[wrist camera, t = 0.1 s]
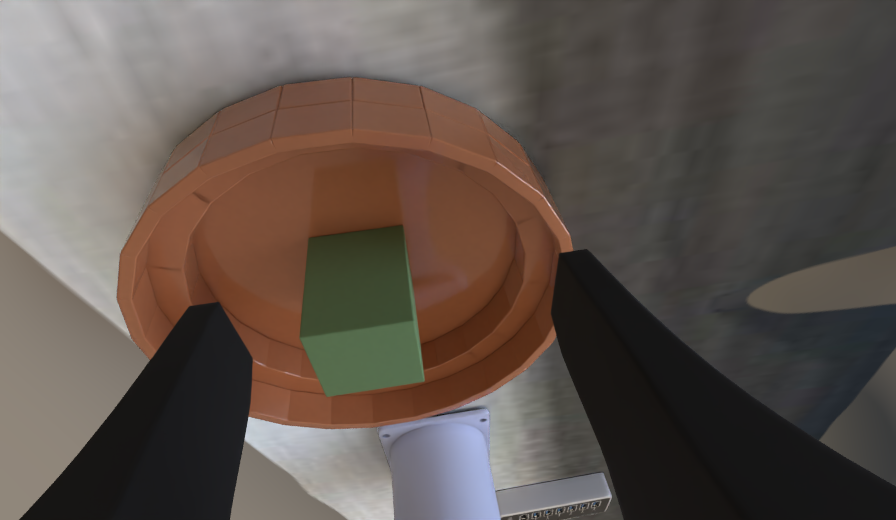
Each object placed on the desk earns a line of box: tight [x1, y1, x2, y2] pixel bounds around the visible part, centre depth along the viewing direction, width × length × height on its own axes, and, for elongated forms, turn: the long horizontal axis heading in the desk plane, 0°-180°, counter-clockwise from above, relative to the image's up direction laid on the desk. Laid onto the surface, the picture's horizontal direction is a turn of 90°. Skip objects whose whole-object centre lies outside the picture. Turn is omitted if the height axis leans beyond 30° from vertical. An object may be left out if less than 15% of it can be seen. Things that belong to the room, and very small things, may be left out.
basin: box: [117, 77, 573, 429], centre depth 22 cm, size 18×18×4 cm
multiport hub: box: [495, 473, 612, 520], centre depth 48 cm, size 4×11×2 cm, turn 95°
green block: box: [299, 225, 425, 397], centre depth 21 cm, size 4×4×6 cm
